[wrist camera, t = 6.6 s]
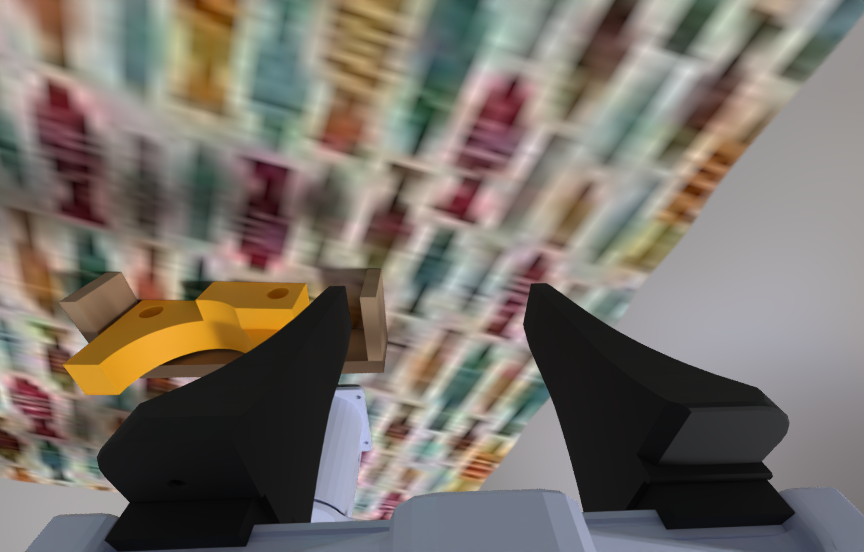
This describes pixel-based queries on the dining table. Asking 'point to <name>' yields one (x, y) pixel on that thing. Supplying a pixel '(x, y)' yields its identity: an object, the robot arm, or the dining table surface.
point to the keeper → (115, 298)
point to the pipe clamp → (184, 331)
